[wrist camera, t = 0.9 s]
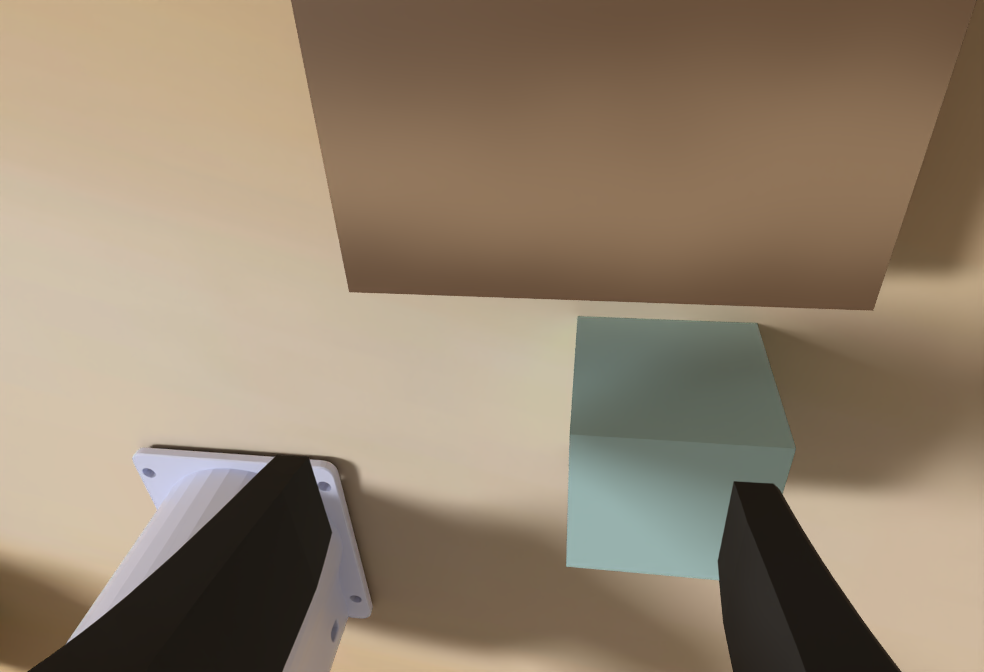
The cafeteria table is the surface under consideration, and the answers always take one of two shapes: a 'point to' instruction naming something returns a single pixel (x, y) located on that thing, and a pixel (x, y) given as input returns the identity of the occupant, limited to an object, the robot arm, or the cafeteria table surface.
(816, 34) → the walnut base
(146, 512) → the cafeteria table surface
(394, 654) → the cafeteria table surface
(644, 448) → the teal cube
